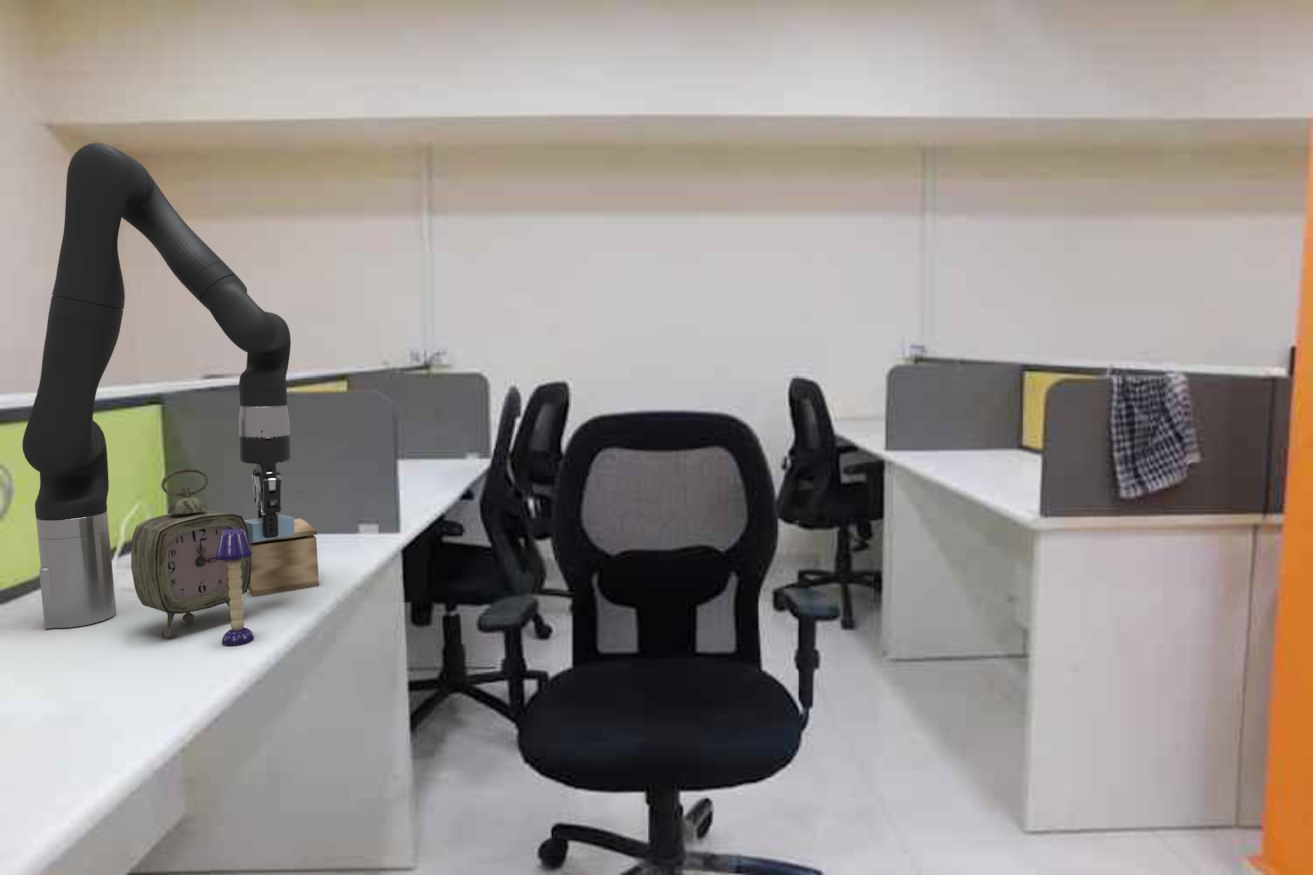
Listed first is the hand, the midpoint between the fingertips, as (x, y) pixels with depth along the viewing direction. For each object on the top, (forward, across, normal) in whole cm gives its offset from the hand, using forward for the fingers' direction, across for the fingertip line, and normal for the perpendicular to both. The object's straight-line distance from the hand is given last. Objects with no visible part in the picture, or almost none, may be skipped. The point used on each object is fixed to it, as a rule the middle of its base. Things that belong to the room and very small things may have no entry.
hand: (268, 533), depth 133 cm
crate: (+12, -16, +4) cm, 21 cm away
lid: (+3, -16, +3) cm, 17 cm away
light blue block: (+1, 0, 0) cm, 1 cm away
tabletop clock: (+13, +3, -11) cm, 17 cm away
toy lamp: (+13, +15, -6) cm, 21 cm away
